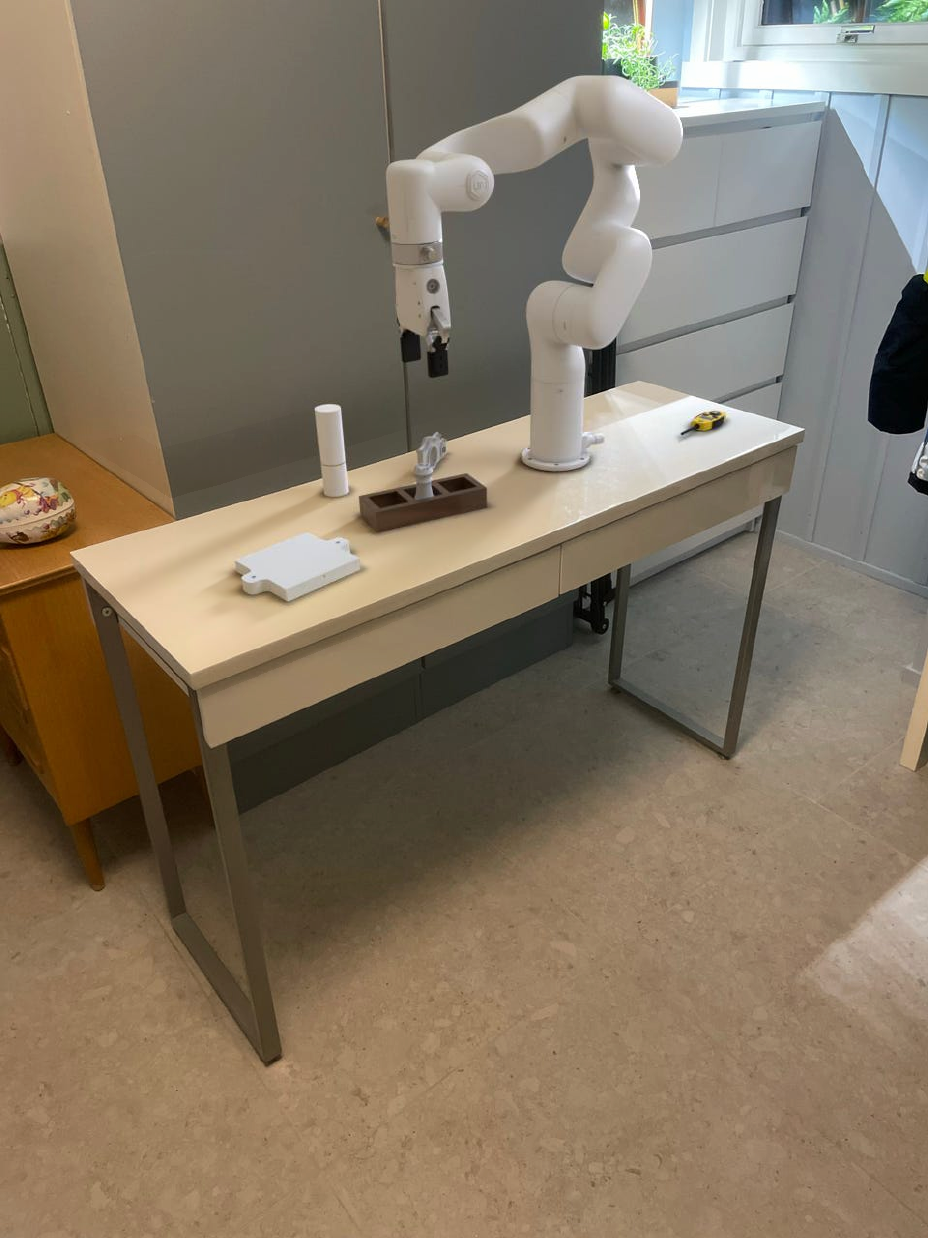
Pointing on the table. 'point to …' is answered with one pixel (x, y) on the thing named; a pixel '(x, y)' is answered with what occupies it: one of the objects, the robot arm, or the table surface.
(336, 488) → the tube
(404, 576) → the table surface
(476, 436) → the table surface
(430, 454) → the white ornate piece
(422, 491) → the rook chess piece
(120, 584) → the table surface
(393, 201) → the robot arm
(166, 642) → the table surface
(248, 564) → the mounting plate
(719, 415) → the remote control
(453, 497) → the piece stand
